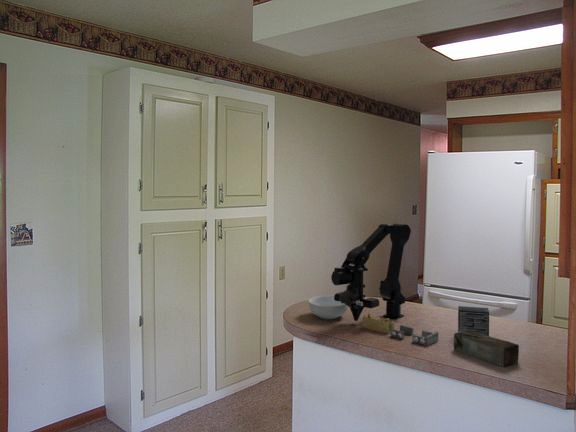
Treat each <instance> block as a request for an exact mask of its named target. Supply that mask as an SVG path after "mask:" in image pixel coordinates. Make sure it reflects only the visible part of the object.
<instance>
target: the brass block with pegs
mask: <svg viewBox="0 0 576 432" xmlns="http://www.w3.org/2000/svg"><path fill="white" fill-rule="evenodd" d="M362 328H364V329H369V330H373V331H377V332H381V333H383V334H387V335H389V334H390V335H391V329H394V330H395V320H393V319H390V318H389V317H385V318H384V317H379V316H375V315H372V314H371V313H368V314H365V315H363V316H362Z"/></svg>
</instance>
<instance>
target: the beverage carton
mask: <svg viewBox="0 0 576 432" xmlns="http://www.w3.org/2000/svg"><path fill="white" fill-rule="evenodd" d="M453 337H454V338H453V339H454V340H453V350H454V351H457V352H460V353H462V354H466V355H468V356H471V357H474V358H476V359H479V360H482V361H486V362H488V363H492V364H494V365H497V366H500V367H503V368H505V367H510V366H513V365H515V364H518V363H519V357H520V353H519V351H520V346H519V344H518V343H517V344H516V343H514V342H511V341H509V340H504V339H500V338H497V337H493V336H490V335H489V336H486V335H483V334H480V333H476V332H473V331H470V330H466V331H459V332H458V331H457V332H455V333H454V334H453Z"/></svg>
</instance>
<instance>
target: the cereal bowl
mask: <svg viewBox="0 0 576 432" xmlns="http://www.w3.org/2000/svg"><path fill="white" fill-rule="evenodd" d="M308 308H309V311H310V312H311V313H312V314H313V315H314V316H317V317H319V318H320V319H322V320H335V319H337V318H338V317H341V316H344V314H345V313H347V311H348V310H349V307H348V306H347V305H346V304H344V303H343V304H342V303H341V301H335V300H334V295H318V296H314V297H312V298H311V297H310V298H309V299H308Z"/></svg>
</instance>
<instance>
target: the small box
mask: <svg viewBox="0 0 576 432" xmlns="http://www.w3.org/2000/svg"><path fill="white" fill-rule="evenodd" d="M457 309H458V310H457V312H458V313H457V317H458V318H457V333H458V332H459V331H466V330H470V331H473V332H476V333H480V334H483V335H486V336H490V309H489V307H481V306H480V307H479V306H478V307H476V306H465V305H463V306H461V305H459V306H458V308H457Z"/></svg>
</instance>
